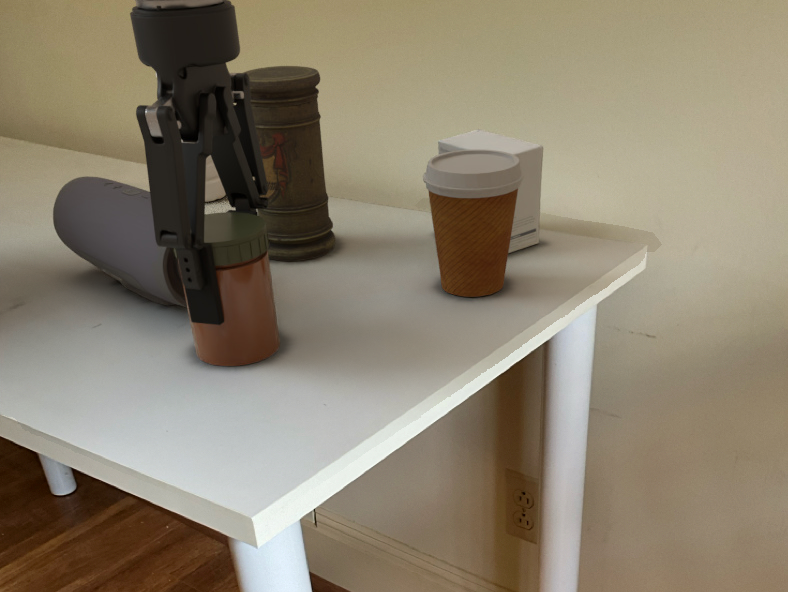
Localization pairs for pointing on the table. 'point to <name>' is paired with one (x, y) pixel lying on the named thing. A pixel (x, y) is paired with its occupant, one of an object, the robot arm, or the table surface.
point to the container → (292, 161)
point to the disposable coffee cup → (473, 217)
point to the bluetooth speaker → (118, 236)
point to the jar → (240, 316)
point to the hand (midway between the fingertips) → (230, 302)
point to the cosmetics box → (530, 188)
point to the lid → (234, 237)
